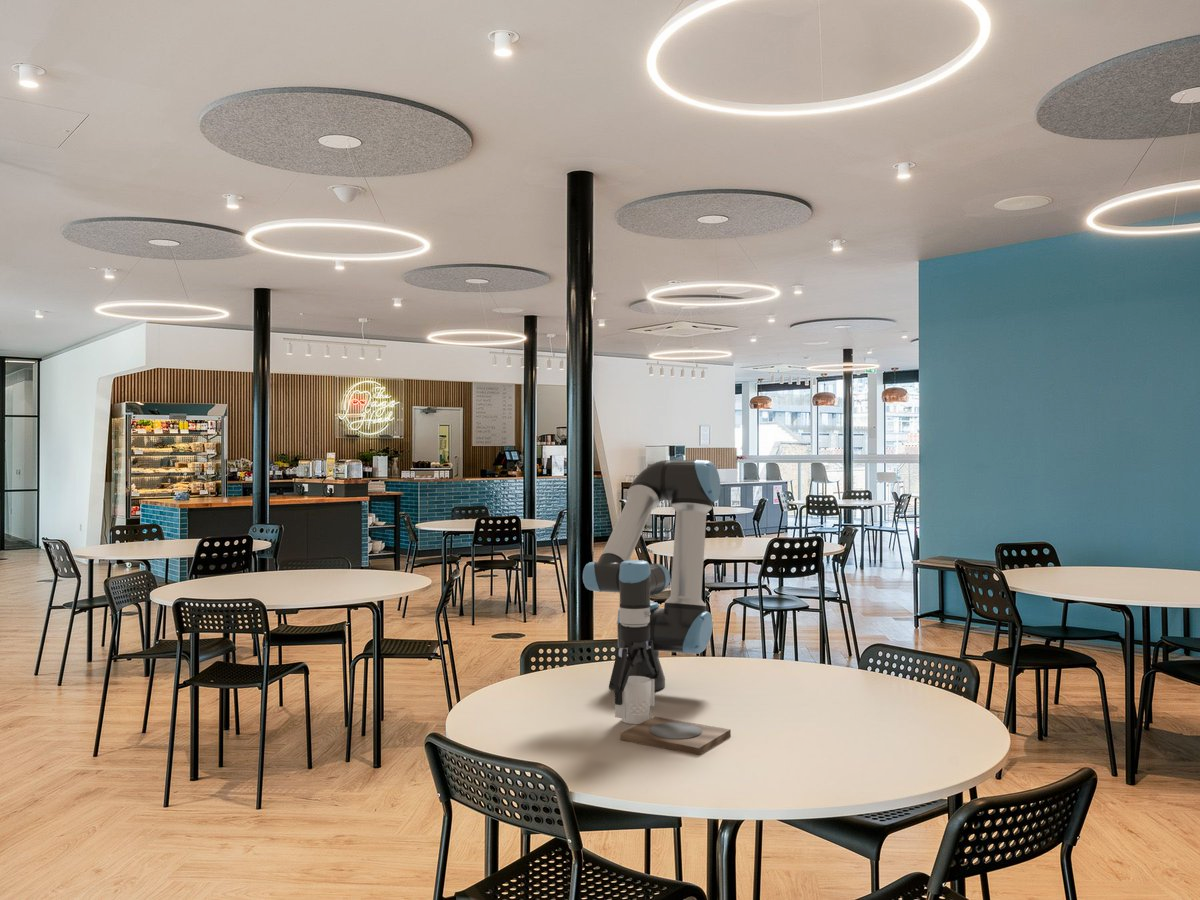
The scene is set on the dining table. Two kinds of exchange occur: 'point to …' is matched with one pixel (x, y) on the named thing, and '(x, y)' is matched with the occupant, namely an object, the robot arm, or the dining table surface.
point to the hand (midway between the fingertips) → (635, 711)
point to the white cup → (637, 699)
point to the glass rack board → (676, 735)
